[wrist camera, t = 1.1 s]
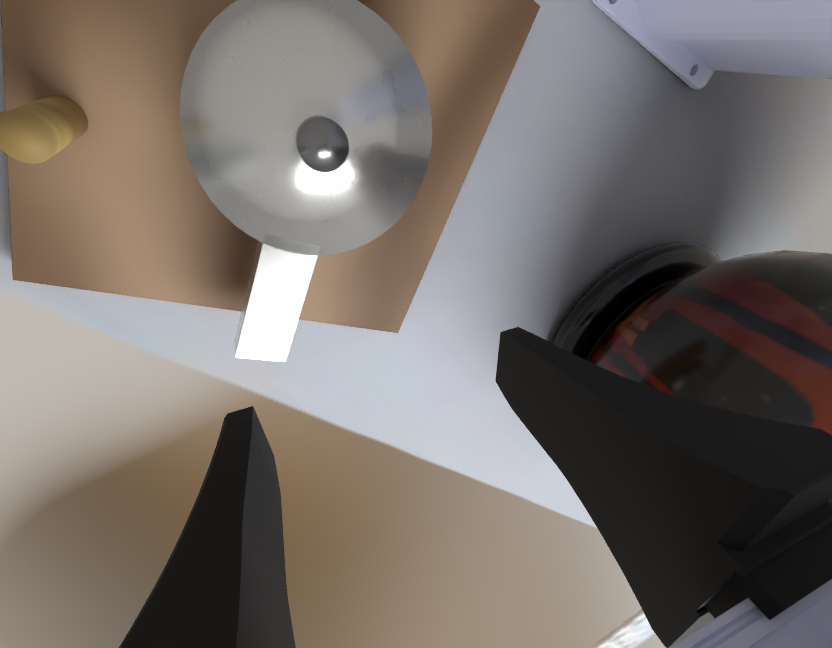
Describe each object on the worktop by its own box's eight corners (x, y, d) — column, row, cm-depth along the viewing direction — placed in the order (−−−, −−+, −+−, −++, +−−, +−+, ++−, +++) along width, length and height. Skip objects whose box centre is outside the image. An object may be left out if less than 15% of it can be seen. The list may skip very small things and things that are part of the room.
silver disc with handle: (205, -79, 10) (202, -97, 9) (452, 63, 14) (476, 66, 13) (152, 332, 16) (145, 360, 14) (344, 351, 20) (353, 375, 18)
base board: (526, 7, 17) (603, 0, 13) (392, 323, 23) (421, 372, 20) (2, -387, 9) (-138, -659, 5) (22, 267, 15) (-34, 334, 12)
